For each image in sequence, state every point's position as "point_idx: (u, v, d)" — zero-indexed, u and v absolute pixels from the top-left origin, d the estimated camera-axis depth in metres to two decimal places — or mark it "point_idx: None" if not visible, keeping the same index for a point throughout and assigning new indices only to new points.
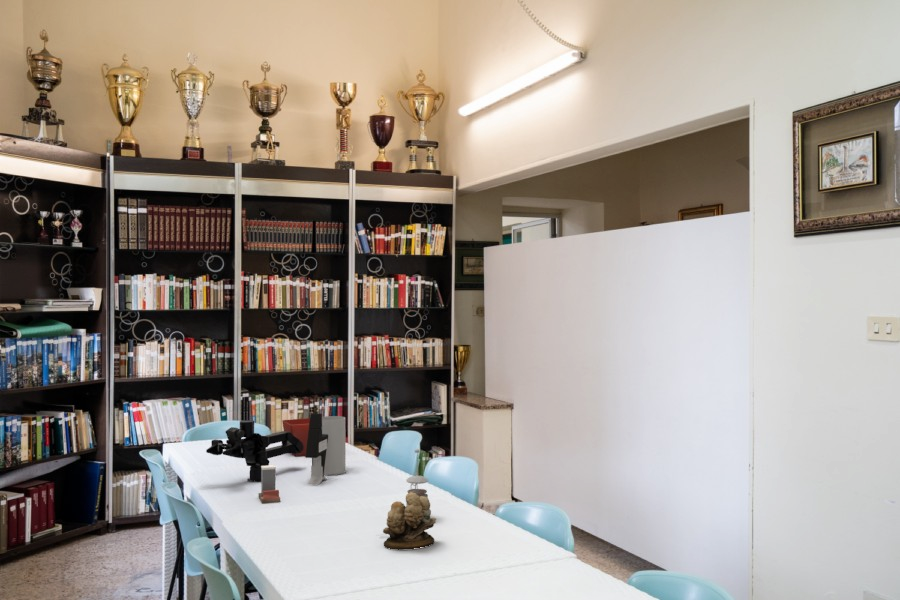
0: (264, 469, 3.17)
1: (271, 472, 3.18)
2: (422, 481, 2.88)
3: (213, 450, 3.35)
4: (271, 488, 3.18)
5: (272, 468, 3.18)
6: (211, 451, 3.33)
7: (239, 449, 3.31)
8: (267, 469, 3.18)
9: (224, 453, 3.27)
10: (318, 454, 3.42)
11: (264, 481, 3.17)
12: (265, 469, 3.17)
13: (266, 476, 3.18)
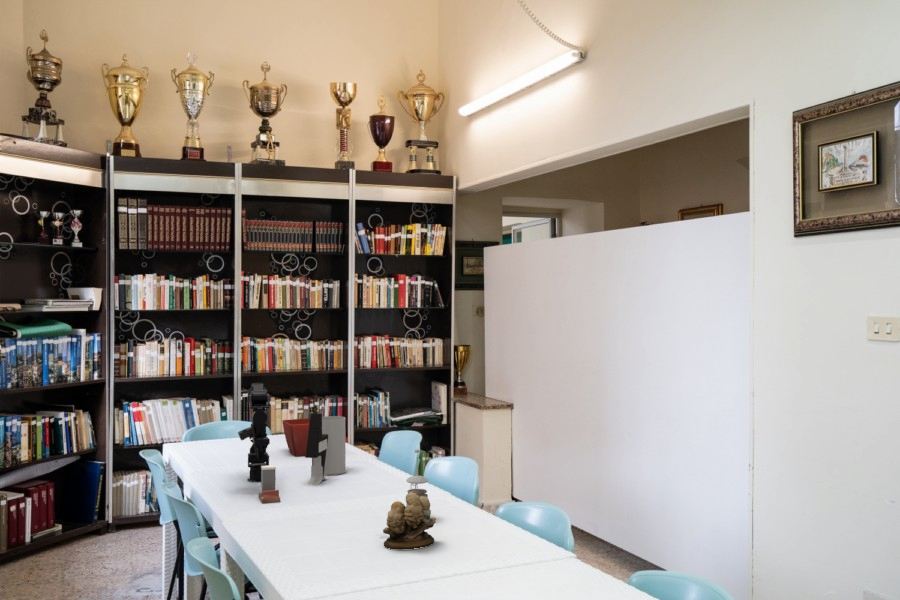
0: (264, 469, 3.17)
1: (271, 472, 3.18)
2: (422, 481, 2.88)
3: None
4: (271, 488, 3.18)
5: (272, 468, 3.18)
6: None
7: (259, 445, 3.27)
8: (267, 469, 3.18)
9: (260, 458, 3.30)
10: (318, 454, 3.42)
11: (264, 481, 3.17)
12: (265, 469, 3.17)
13: (266, 476, 3.18)
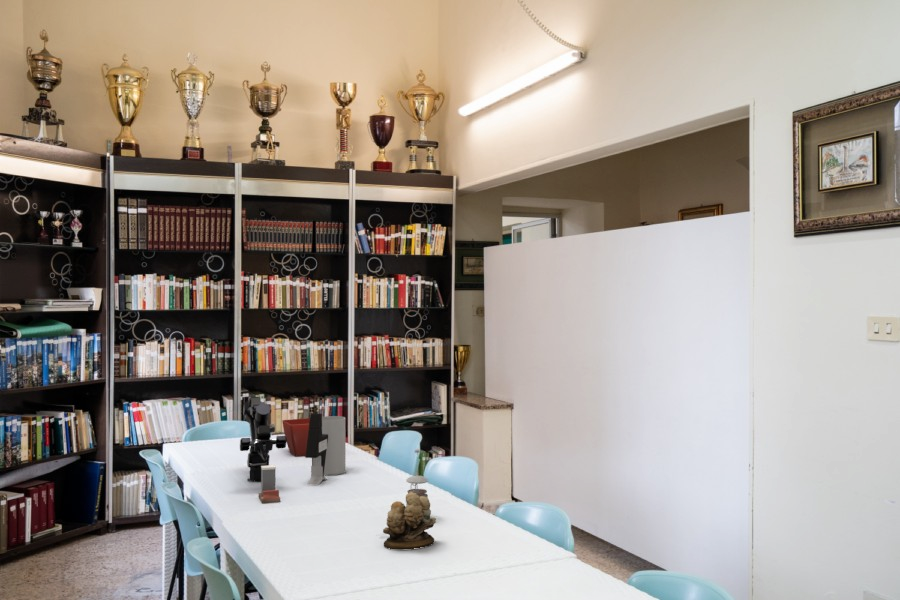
0: (264, 469, 3.17)
1: (271, 472, 3.18)
2: (422, 481, 2.88)
3: None
4: (271, 488, 3.18)
5: (272, 468, 3.18)
6: None
7: (271, 445, 3.33)
8: (267, 469, 3.18)
9: (266, 459, 3.28)
10: (318, 454, 3.42)
11: (264, 481, 3.17)
12: (265, 469, 3.17)
13: (266, 476, 3.18)
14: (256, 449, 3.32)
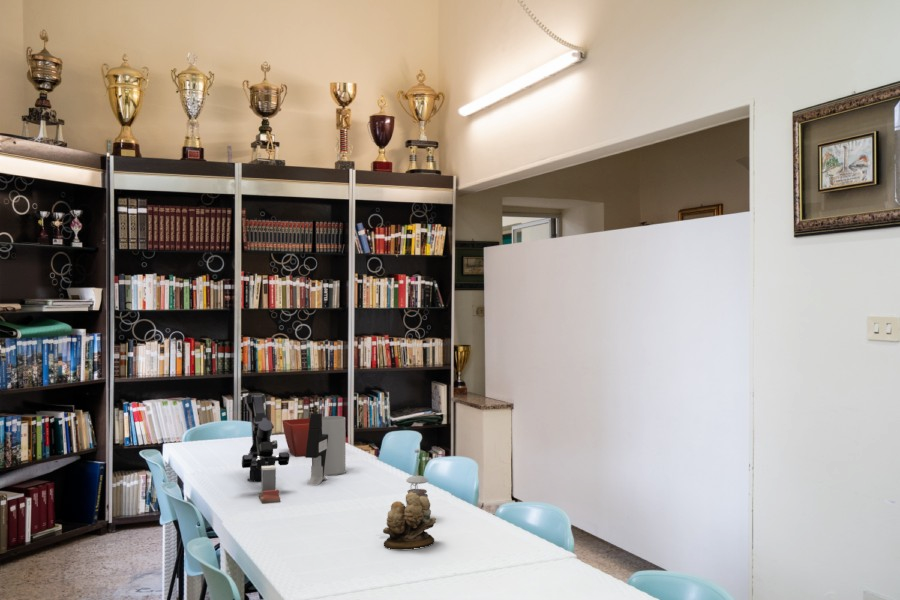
0: (264, 469, 3.17)
1: (271, 472, 3.18)
2: (422, 481, 2.88)
3: None
4: (271, 488, 3.18)
5: (272, 468, 3.18)
6: None
7: (274, 462, 3.26)
8: (267, 469, 3.17)
9: None
10: (318, 454, 3.42)
11: (264, 481, 3.17)
12: (266, 470, 3.17)
13: (266, 476, 3.17)
14: (258, 466, 3.25)
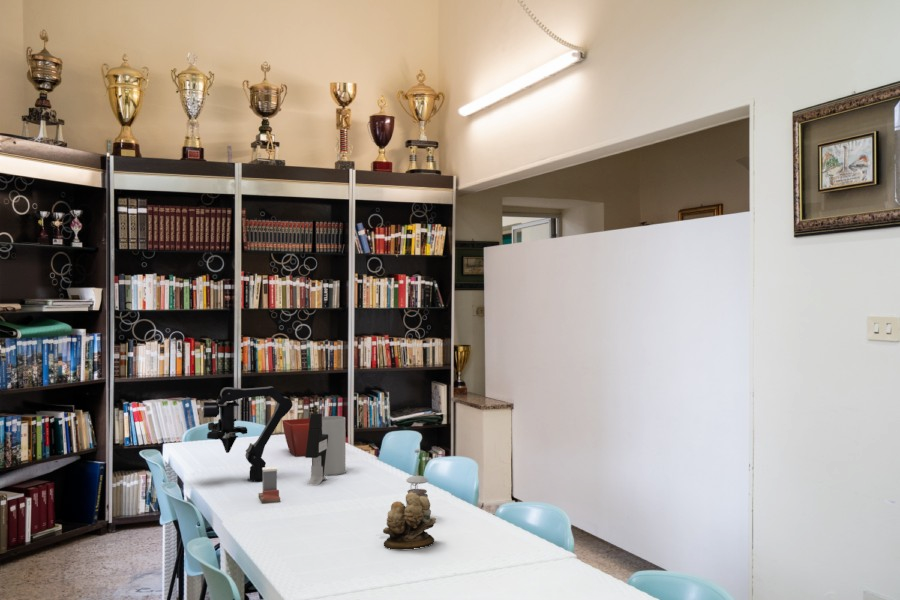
0: (265, 471, 3.14)
1: (272, 474, 3.15)
2: (422, 481, 2.88)
3: None
4: None
5: (273, 470, 3.15)
6: None
7: (221, 438, 3.44)
8: (268, 471, 3.14)
9: (227, 451, 3.46)
10: (318, 454, 3.42)
11: (265, 483, 3.14)
12: (267, 471, 3.14)
13: (267, 478, 3.14)
14: None
